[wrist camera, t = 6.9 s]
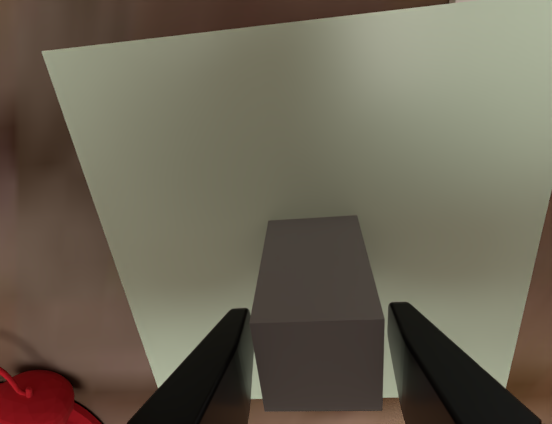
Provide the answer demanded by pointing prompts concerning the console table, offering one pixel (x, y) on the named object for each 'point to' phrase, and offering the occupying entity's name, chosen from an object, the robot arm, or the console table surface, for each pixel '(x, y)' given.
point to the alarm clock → (40, 400)
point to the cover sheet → (322, 186)
